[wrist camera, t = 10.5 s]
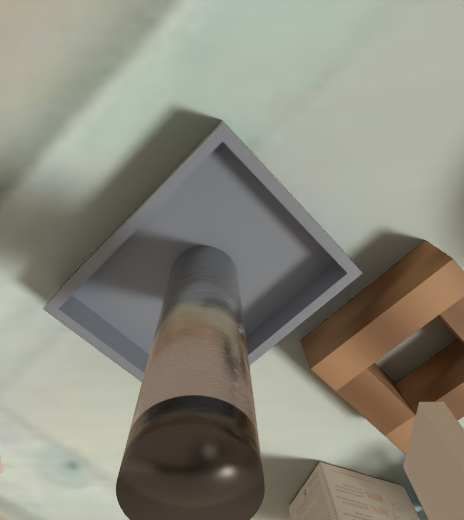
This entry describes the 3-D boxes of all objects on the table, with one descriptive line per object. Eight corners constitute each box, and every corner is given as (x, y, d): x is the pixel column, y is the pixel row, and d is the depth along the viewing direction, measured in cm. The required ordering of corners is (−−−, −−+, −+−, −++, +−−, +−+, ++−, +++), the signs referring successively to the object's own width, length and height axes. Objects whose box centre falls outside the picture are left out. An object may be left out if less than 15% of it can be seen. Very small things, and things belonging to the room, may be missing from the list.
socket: (425, 240, 24) (453, 258, 21) (506, 338, 27) (540, 366, 24) (300, 340, 26) (310, 369, 24) (387, 420, 29) (405, 454, 27)
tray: (221, 120, 21) (222, 122, 19) (348, 256, 24) (362, 273, 22) (59, 288, 24) (42, 308, 22) (189, 389, 28) (187, 415, 25)
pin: (203, 231, 23) (188, 410, 10) (251, 276, 24) (294, 489, 11) (156, 277, 24) (85, 495, 11) (204, 318, 25) (193, 559, 12)
